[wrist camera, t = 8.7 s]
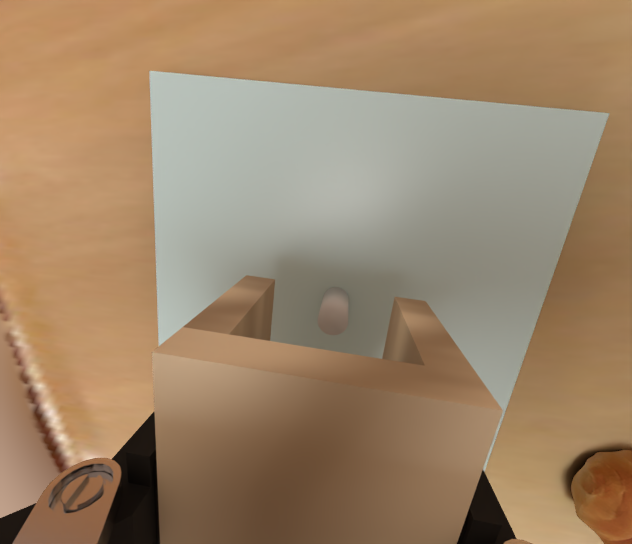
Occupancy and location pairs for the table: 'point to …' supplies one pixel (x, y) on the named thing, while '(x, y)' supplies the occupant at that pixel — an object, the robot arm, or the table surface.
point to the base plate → (365, 210)
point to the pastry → (606, 495)
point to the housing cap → (315, 431)
